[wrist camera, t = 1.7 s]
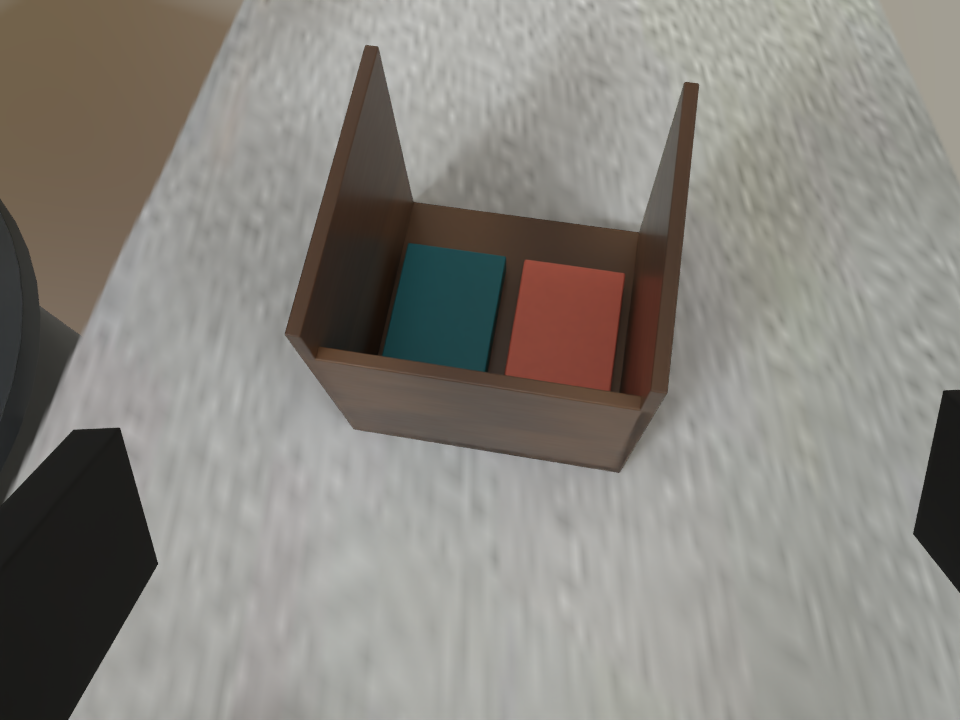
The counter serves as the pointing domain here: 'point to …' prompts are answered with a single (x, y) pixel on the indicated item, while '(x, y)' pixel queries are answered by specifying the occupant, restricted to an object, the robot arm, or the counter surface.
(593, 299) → the packet coral
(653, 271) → the brown wooden open box
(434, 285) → the packet teal
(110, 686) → the counter surface
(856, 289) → the counter surface
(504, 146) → the counter surface
